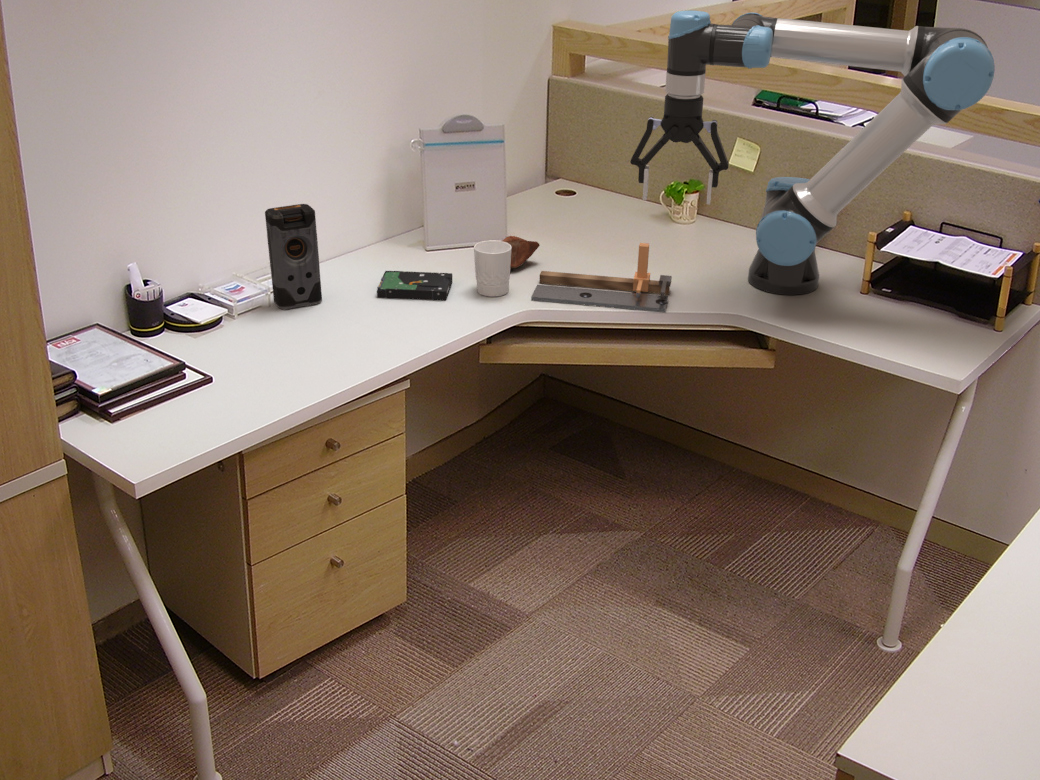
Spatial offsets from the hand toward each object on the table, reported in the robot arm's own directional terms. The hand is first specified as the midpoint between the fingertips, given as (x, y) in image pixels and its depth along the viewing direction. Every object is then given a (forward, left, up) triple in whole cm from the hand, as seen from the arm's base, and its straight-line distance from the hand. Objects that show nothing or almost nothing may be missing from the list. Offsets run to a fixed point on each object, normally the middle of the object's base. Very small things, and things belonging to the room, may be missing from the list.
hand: (676, 200), depth 221 cm
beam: (+14, +4, -20) cm, 25 cm away
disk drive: (+53, +11, -21) cm, 58 cm away
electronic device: (+75, +23, -20) cm, 81 cm away
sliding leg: (+6, +3, -20) cm, 21 cm away
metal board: (+14, +8, -20) cm, 26 cm away
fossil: (+36, -7, -21) cm, 42 cm away
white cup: (+37, +8, -21) cm, 43 cm away
